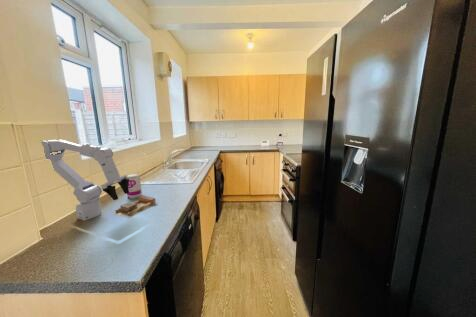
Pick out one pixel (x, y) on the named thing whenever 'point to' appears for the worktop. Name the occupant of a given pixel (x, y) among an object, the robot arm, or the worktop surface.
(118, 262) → the worktop surface
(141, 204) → the guide channel
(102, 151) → the robot arm
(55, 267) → the worktop surface
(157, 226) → the worktop surface
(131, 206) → the block
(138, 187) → the supplement can
